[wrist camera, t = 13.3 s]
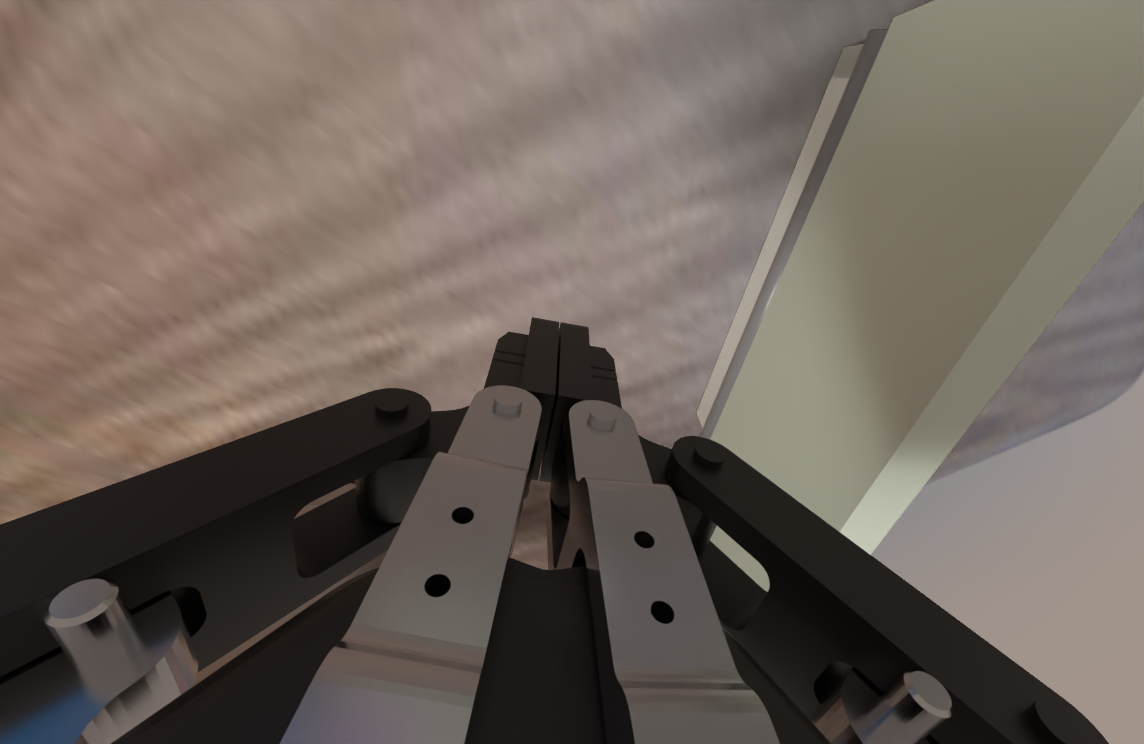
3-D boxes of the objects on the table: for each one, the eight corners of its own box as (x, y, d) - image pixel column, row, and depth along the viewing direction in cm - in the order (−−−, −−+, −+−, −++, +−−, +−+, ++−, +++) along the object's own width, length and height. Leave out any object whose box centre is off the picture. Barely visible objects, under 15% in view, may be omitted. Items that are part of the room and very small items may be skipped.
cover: (749, 710, 16) (720, 702, 16) (715, 472, 26) (697, 467, 26) (1413, -147, 6) (1323, -164, 6) (923, 23, 16) (893, 17, 16)
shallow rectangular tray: (874, 441, 32) (921, 495, 28) (678, 409, 31) (696, 461, 26) (1093, 110, 22) (1219, 114, 18) (818, 40, 21) (883, 27, 16)
